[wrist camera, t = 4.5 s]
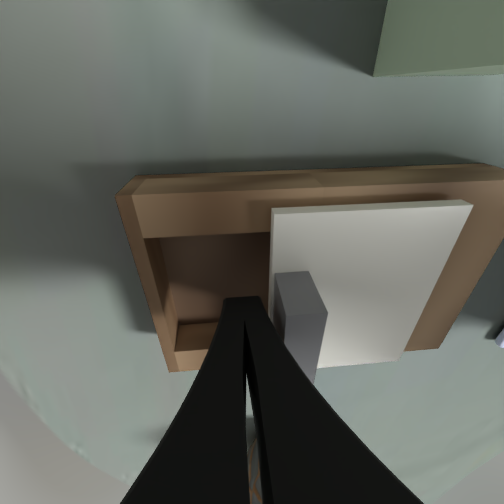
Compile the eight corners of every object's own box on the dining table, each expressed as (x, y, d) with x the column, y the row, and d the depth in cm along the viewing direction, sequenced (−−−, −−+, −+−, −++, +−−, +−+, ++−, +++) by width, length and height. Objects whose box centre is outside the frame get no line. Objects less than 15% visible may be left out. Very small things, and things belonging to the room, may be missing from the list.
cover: (461, 199, 9) (538, 234, 6) (392, 351, 13) (426, 403, 11) (271, 208, 8) (287, 249, 6) (266, 362, 12) (274, 419, 10)
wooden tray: (483, 163, 11) (538, 178, 9) (412, 317, 15) (438, 348, 14) (135, 175, 10) (114, 195, 8) (176, 336, 14) (169, 372, 13)
